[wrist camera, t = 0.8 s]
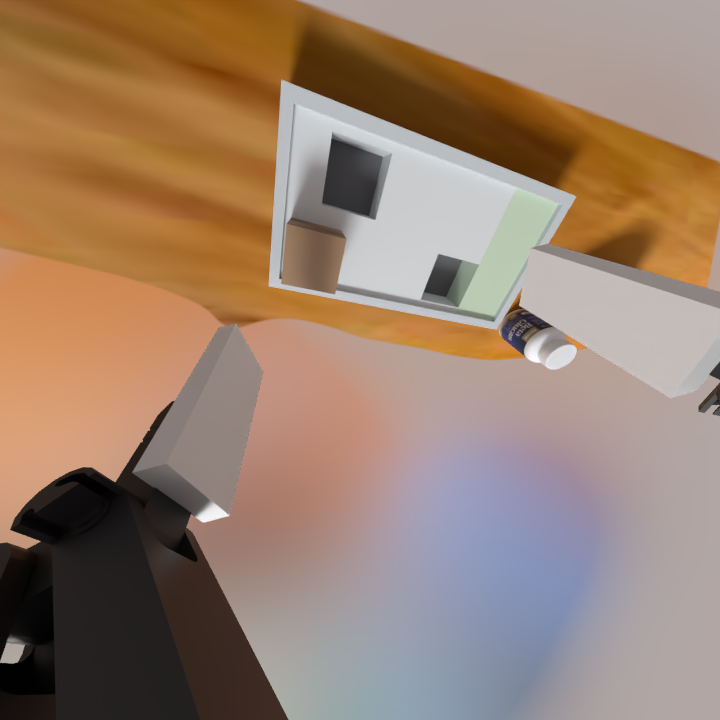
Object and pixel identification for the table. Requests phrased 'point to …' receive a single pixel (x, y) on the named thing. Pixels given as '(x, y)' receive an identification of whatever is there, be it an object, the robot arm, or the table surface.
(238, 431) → the robot arm
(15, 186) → the table surface
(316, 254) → the walnut block
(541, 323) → the pill bottle
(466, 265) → the board
